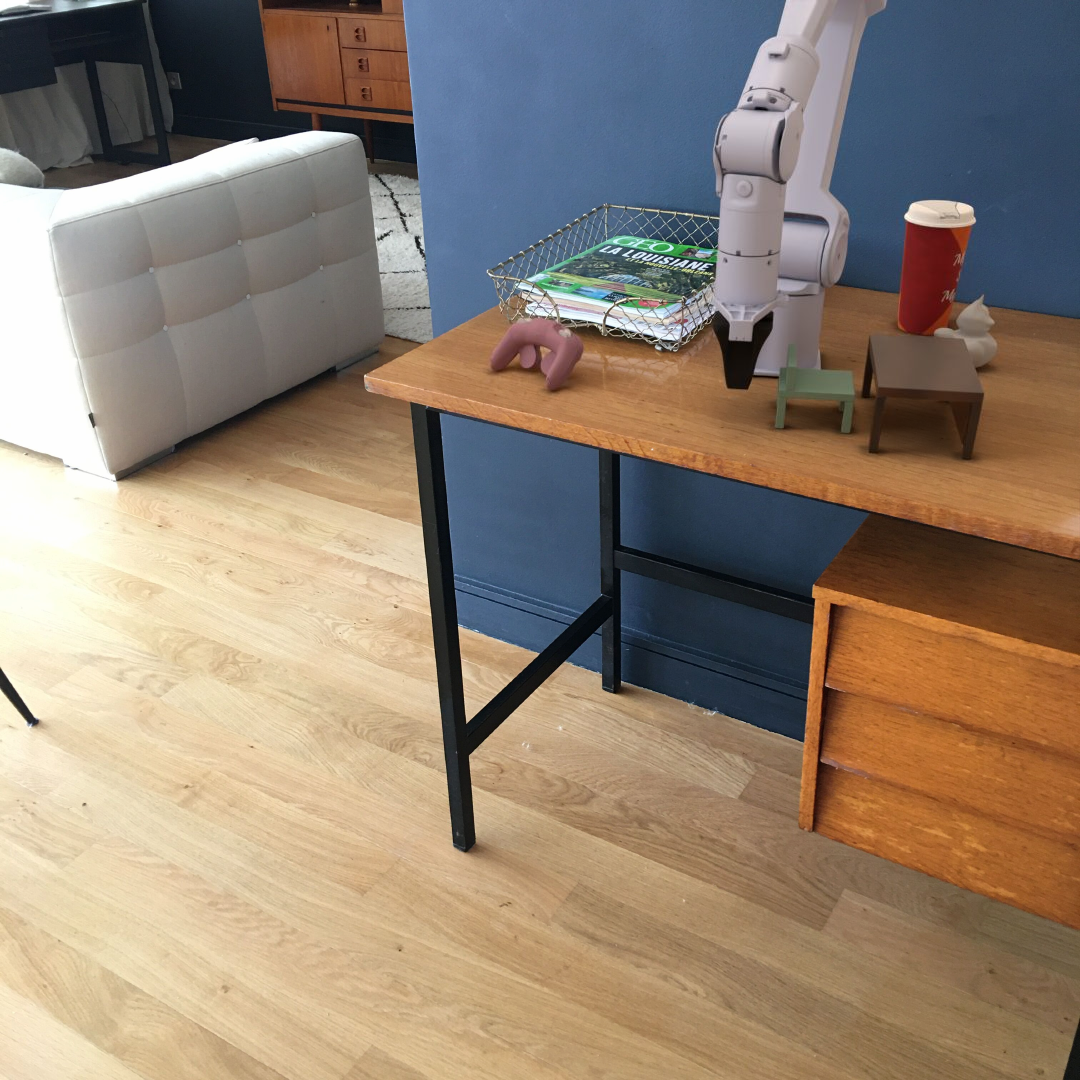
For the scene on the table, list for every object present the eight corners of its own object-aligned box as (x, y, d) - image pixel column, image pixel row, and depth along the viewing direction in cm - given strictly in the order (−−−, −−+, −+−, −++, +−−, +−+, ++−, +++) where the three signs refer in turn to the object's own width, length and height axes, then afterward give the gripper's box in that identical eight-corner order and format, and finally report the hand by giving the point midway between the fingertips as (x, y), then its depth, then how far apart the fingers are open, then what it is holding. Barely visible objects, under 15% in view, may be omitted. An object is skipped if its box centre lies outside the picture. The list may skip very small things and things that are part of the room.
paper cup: (964, 337, 126) (987, 214, 119) (897, 338, 127) (916, 215, 119) (944, 315, 133) (964, 198, 126) (880, 316, 133) (897, 198, 126)
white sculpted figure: (993, 377, 116) (1008, 303, 112) (927, 370, 118) (940, 298, 114) (993, 359, 120) (1007, 288, 116) (930, 353, 122) (942, 283, 118)
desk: (868, 452, 101) (878, 386, 98) (860, 394, 113) (869, 333, 109) (971, 459, 99) (984, 392, 96) (952, 399, 111) (964, 338, 108)
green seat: (775, 428, 106) (781, 365, 103) (776, 404, 111) (782, 343, 108) (849, 433, 105) (858, 370, 101) (847, 408, 110) (855, 347, 106)
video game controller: (576, 397, 117) (595, 333, 116) (550, 390, 113) (570, 324, 112) (510, 374, 123) (528, 313, 122) (483, 367, 119) (501, 304, 118)
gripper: (793, 273, 94) (778, 419, 101) (793, 229, 106) (780, 362, 113) (710, 269, 95) (700, 414, 102) (720, 227, 107) (711, 358, 114)
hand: (737, 386), depth 108 cm, fingers closed
